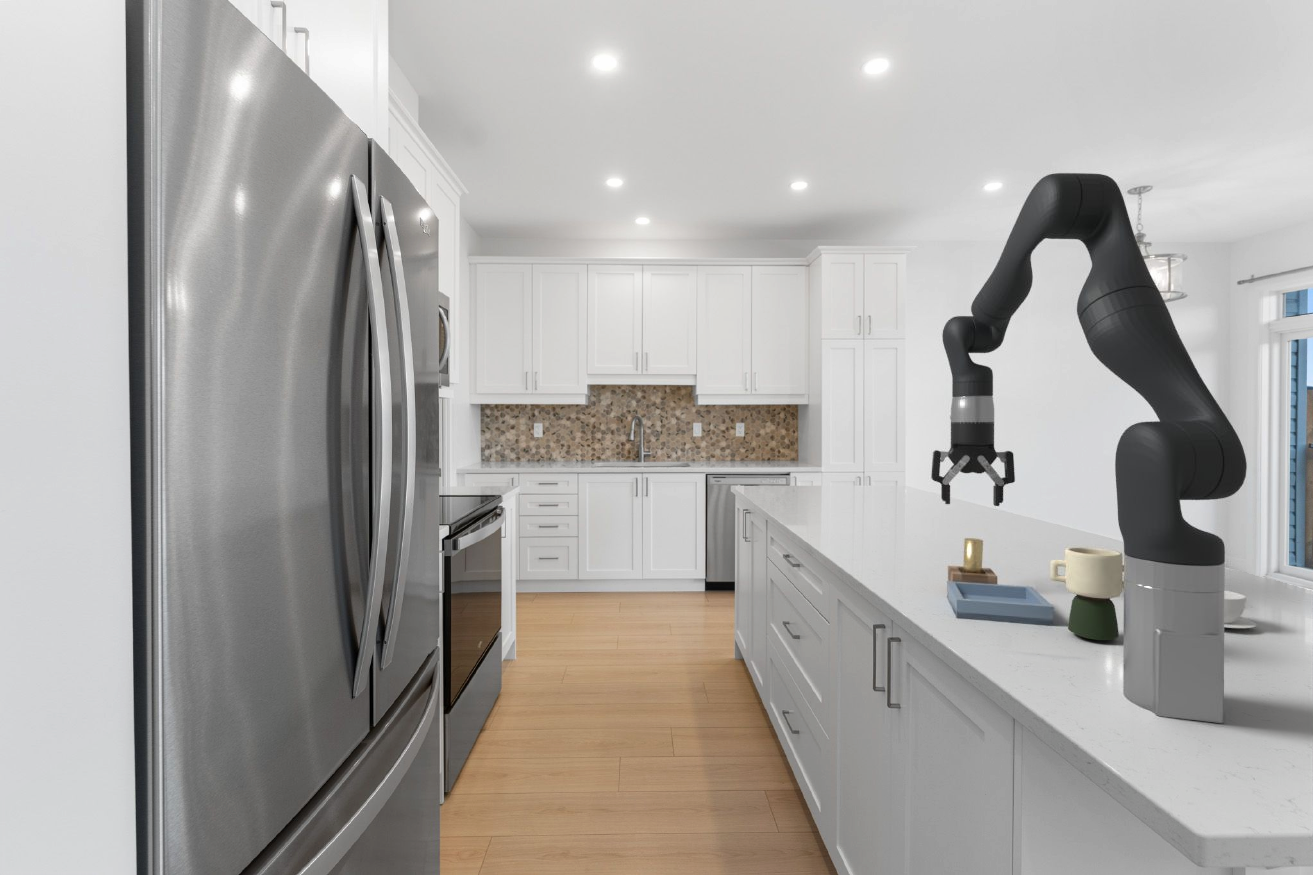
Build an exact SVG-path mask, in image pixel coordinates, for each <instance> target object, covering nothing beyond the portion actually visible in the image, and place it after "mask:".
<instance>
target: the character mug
mask: <svg viewBox="0 0 1313 875" xmlns="http://www.w3.org/2000/svg"><path fill="white" fill-rule="evenodd" d="M1064 551H1065V552H1064V559H1052V560H1051V561H1050V566H1049V567H1050V569H1049V570H1050V571H1049V572H1050V573H1049V574H1050V579H1051V581H1053V582H1061V583H1064V586H1065V588H1066V590H1067V591H1068V592H1069V593H1072V594H1074V595H1075V596H1074V597H1073V598H1072V600H1071V607H1070V612H1069V617H1068V623H1067V624H1068V625H1067V630H1069V632H1071V633H1073V634H1075V635H1077V636H1078V637H1083V638H1084V639H1085V638H1086V639H1089V640H1090V639H1091V640H1095V641H1096V640H1097V641H1109V640H1111V641H1112V640H1114V639H1117V638H1118V637H1119V636H1120V633H1119V625H1118V618H1117V612H1116V607H1115V603H1114V602H1113V600H1111V599H1115V598H1119V597H1120V596H1121V594H1122V592H1123V589H1124V580H1123V573H1124V564H1123V559H1124V556H1123V553H1122V552H1119V551H1116V550H1111V549H1105V548H1099V547H1098V548H1097V547H1089V546H1087V547H1083V546H1081V547H1080V546H1079V547H1078V546H1075V547H1074V546H1073V547H1067V548H1066V549H1065V550H1064ZM1059 567H1064V575H1060V574H1059Z"/></svg>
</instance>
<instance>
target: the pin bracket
mask: <svg viewBox="0 0 1313 875" xmlns="http://www.w3.org/2000/svg"><path fill="white" fill-rule="evenodd" d="M947 581H952V582H968V583H983V584H998V575H997V574H996V573H995V572H994V571H993V570H992V569H991V568H990V567H982V574H977V573H963V566H958V565H947Z"/></svg>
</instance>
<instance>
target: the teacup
mask: <svg viewBox="0 0 1313 875" xmlns="http://www.w3.org/2000/svg"><path fill="white" fill-rule="evenodd" d="M1246 600H1247V597H1246V596H1245V595H1244V594H1242V593H1238V592H1235V591H1230V590H1225V589H1224V628H1229V629H1230V628H1231V629H1252V628H1255V627H1257V623H1256V622H1255V621H1253V620H1251V619H1247V618H1244V617H1242V615H1243V613H1244V611H1245V607H1246Z"/></svg>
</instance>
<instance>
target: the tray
mask: <svg viewBox="0 0 1313 875" xmlns="http://www.w3.org/2000/svg"><path fill="white" fill-rule="evenodd" d="M946 598H947V601H948V603H949V604H950V607H951V609H952V611H953V613H954V616H955V617H956V619H966V620H977V621H978V620H979V621H991V622H1001V623H1006V622H1007V623H1015V624H1016V623H1017V624H1025V625H1026V624H1029V625H1037V626H1038V625H1041V626H1050V627H1051V626H1054V605H1052V604H1051V603H1050V602H1049V601H1048V600H1047V599H1046V598H1045V597H1043V596H1042V595H1041V594H1040V593H1039V592H1038V591H1037V589H1035V588H1034V587H1033V586H1029V585H1026V586H1025V585H1015V584H1014V585H1013V584H1011V585H1010V584H1000V583H997V584H983V583H968V582H952V581H948V580H947V581H946Z"/></svg>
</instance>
